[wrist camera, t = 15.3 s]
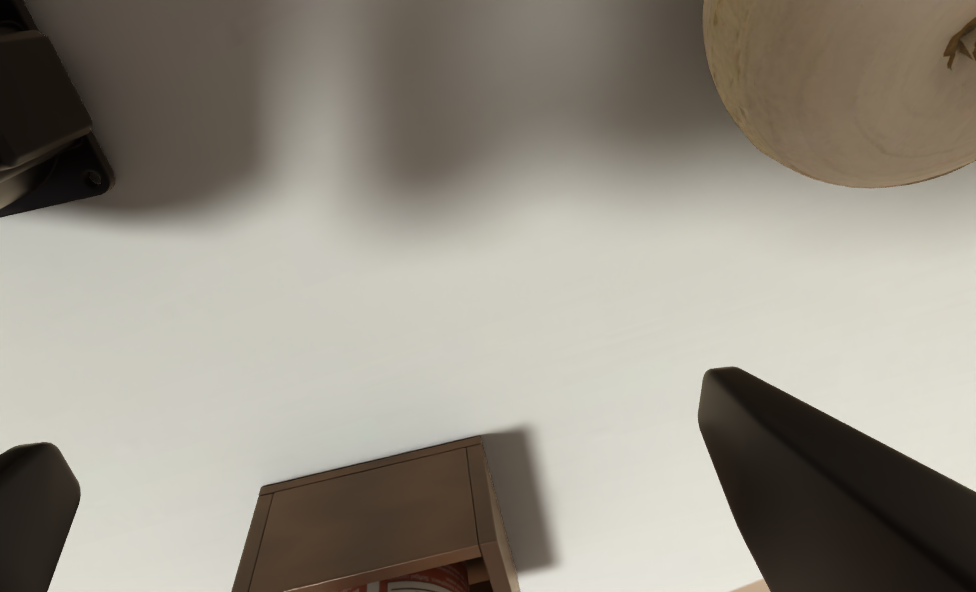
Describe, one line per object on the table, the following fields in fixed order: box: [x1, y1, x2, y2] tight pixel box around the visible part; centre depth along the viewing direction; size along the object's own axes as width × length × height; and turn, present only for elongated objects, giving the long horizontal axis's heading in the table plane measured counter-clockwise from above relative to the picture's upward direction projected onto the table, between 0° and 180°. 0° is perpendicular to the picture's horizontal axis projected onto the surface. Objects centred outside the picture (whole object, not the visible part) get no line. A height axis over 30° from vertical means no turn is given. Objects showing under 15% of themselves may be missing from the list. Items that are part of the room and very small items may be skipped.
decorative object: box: [703, 0, 976, 188], centre depth 14 cm, size 9×9×10 cm
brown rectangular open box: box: [232, 436, 520, 592], centre depth 25 cm, size 10×10×6 cm
